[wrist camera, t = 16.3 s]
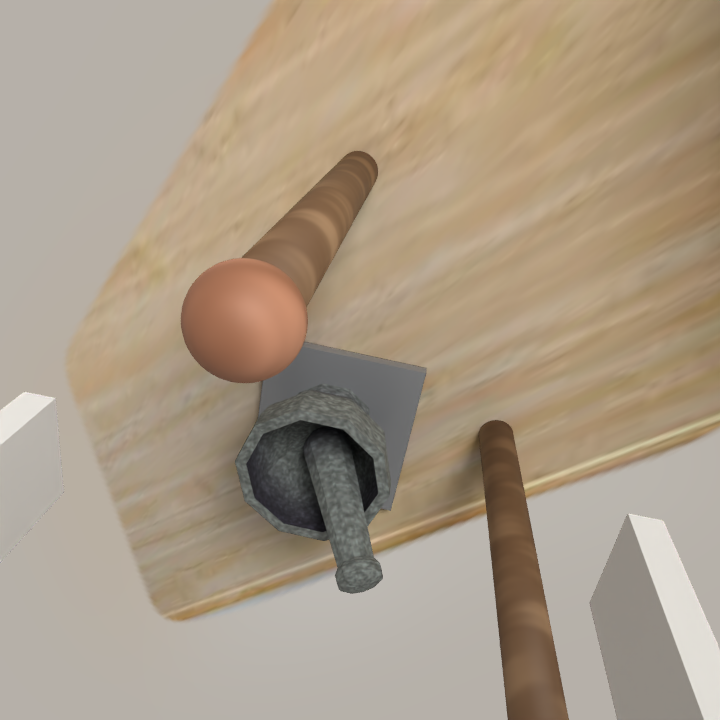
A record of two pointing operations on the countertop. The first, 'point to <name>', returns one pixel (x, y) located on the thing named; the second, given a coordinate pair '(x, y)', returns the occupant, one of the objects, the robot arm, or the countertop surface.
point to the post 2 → (518, 586)
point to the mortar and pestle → (320, 475)
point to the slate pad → (358, 392)
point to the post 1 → (274, 281)
